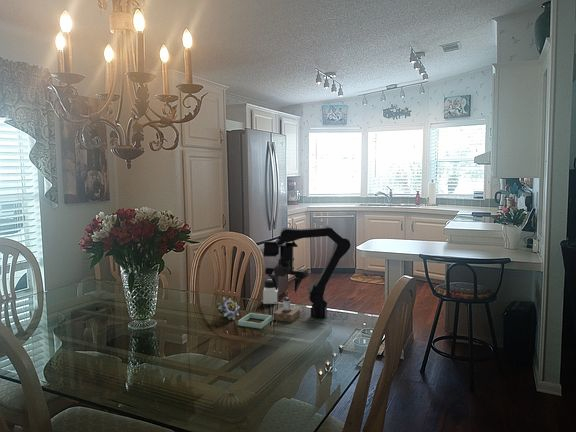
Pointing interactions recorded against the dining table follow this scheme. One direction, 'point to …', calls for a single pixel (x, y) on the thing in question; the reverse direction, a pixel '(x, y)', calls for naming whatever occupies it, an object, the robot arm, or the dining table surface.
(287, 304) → the metal pin
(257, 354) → the dining table surface
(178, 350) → the dining table surface
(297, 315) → the holder block
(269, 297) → the medicine bottle
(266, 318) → the mint green square frame
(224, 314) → the passion flower
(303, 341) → the dining table surface
